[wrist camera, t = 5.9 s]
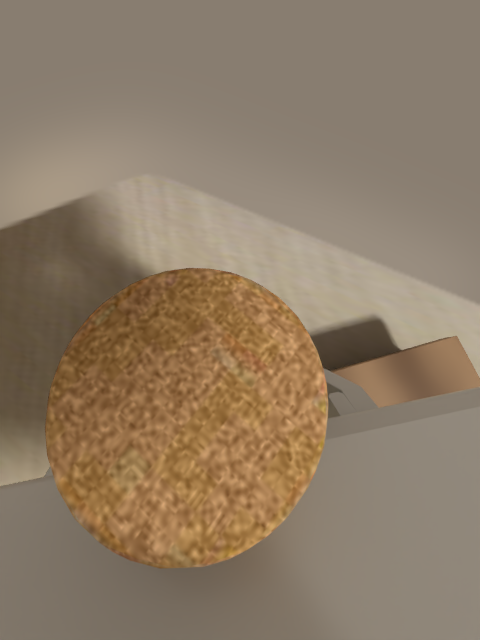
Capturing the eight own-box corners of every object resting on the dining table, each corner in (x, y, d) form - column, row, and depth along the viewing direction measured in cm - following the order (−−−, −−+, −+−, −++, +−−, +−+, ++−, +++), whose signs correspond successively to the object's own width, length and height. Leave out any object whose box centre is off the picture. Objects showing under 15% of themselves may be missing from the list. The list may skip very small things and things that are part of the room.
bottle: (179, 367, 18) (-43, 335, 4) (236, 333, 19) (246, 196, 4) (212, 429, 17) (83, 769, 2) (272, 389, 18) (441, 456, 3)
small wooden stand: (350, 522, 15) (388, 570, 12) (301, 375, 18) (319, 375, 14) (475, 475, 17) (549, 506, 13) (411, 343, 19) (456, 335, 15)
